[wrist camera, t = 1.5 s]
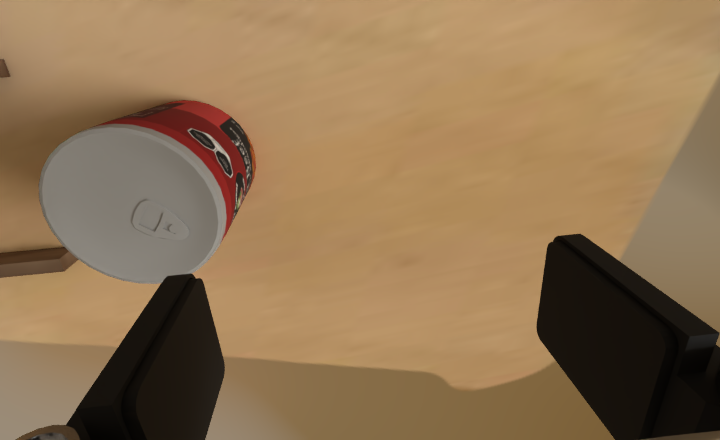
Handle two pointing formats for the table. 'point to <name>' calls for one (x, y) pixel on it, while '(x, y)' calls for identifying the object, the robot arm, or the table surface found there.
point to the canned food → (148, 190)
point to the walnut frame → (33, 259)
